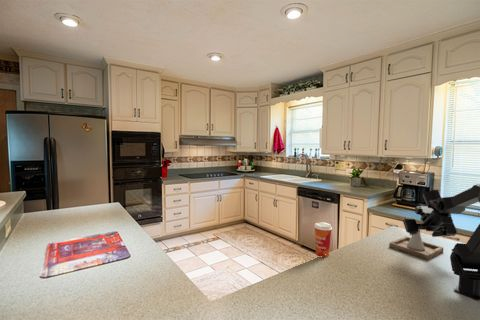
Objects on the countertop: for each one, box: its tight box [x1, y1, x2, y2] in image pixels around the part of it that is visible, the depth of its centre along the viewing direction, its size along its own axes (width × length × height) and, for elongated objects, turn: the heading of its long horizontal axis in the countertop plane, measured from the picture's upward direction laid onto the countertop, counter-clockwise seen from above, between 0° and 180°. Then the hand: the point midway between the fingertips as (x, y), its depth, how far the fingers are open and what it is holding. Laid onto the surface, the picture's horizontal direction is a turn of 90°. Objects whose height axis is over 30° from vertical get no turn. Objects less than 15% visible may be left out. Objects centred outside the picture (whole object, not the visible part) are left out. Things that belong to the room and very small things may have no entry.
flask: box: [407, 229, 425, 251], centre depth 116 cm, size 7×7×10 cm
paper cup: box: [313, 221, 333, 258], centre depth 110 cm, size 8×8×14 cm
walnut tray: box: [388, 235, 444, 261], centre depth 117 cm, size 16×16×2 cm
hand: (421, 235), depth 112 cm, fingers open, 9 cm apart
